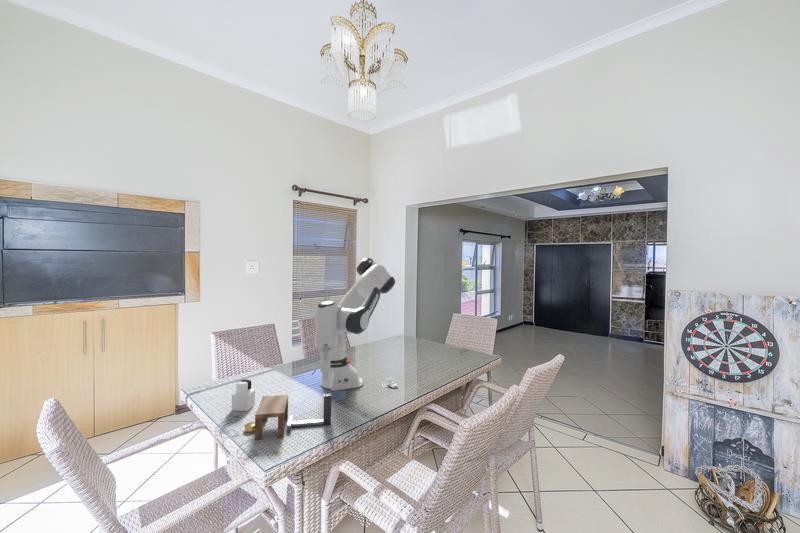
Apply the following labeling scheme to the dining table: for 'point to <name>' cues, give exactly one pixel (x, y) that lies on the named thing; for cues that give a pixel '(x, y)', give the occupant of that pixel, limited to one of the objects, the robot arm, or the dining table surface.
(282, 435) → the wooden arch block
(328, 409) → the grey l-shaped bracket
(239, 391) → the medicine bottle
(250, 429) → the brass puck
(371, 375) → the dining table surface
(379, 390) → the dining table surface
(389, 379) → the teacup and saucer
